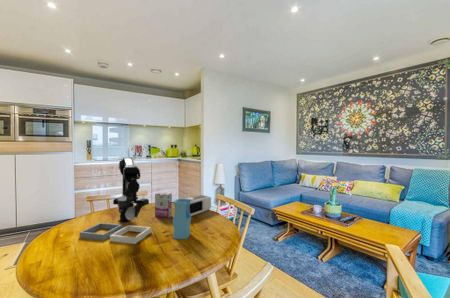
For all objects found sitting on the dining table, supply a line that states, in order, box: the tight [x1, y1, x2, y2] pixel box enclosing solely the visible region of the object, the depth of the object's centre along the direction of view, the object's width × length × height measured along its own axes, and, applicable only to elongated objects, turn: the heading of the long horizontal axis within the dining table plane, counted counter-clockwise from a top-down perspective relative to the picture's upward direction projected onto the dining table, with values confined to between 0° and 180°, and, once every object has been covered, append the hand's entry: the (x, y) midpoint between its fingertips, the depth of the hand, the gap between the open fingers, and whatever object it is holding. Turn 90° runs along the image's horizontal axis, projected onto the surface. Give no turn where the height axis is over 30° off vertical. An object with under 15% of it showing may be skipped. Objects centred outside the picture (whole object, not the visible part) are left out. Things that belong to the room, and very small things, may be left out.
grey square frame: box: [79, 222, 123, 241], centre depth 123 cm, size 15×15×3 cm
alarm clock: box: [186, 195, 212, 217], centre depth 161 cm, size 27×9×12 cm, turn 142°
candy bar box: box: [154, 192, 173, 219], centre depth 153 cm, size 11×5×16 cm, turn 73°
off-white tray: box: [109, 224, 152, 245], centre depth 119 cm, size 15×15×3 cm
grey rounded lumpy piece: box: [125, 206, 136, 221], centre depth 119 cm, size 6×7×7 cm
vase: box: [172, 198, 192, 240], centre depth 121 cm, size 8×8×20 cm
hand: (131, 216), depth 119 cm, fingers closed on grey rounded lumpy piece, 6 cm apart
